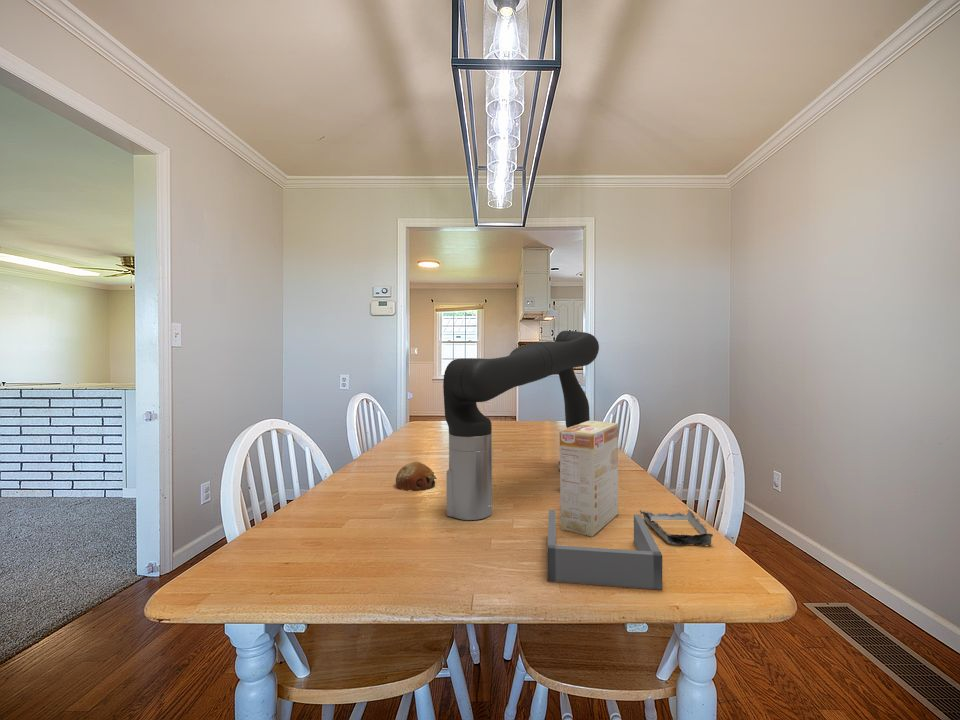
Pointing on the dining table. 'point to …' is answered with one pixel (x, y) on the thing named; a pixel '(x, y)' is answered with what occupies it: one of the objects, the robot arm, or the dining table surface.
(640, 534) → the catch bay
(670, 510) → the dining table surface
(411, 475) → the bread roll
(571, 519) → the coffeecake box
